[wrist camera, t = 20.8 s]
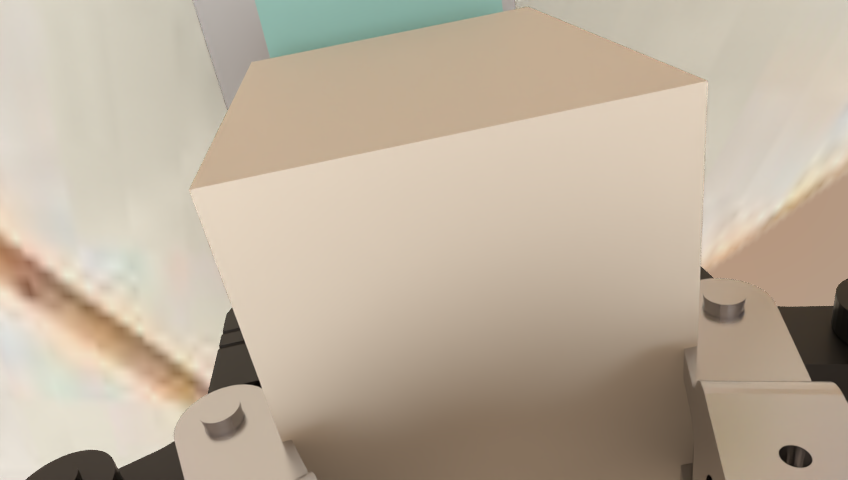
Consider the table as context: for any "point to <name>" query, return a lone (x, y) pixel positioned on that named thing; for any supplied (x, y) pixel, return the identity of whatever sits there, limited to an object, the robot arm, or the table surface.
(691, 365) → the robot arm
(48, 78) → the table surface
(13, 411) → the table surface
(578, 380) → the cream brick
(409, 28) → the teal brick
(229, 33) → the base plate
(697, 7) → the table surface
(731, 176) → the table surface
